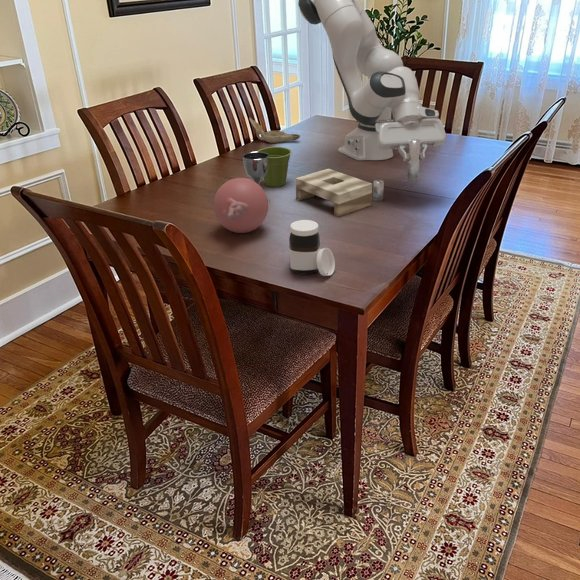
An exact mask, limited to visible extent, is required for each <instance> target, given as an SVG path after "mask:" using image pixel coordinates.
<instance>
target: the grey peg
mask: <svg viewBox="0 0 580 580" xmlns="http://www.w3.org/2000/svg"><path fill="white" fill-rule="evenodd" d="M420 145H421V140H419V139H411V140H410V143H409V148H408V153H409V156H410V160H409V161H407V162H408V163H407V164H408V165H407V179H406V180H407V181H408V182H418V181H419V171H420V170H419V169H420V160H419V159H420V152H421V147H420Z"/></svg>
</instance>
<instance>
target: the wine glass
mask: <svg viewBox="0 0 580 580" xmlns="http://www.w3.org/2000/svg"><path fill="white" fill-rule="evenodd" d="M242 160H243V161H242V163H243V167H244V171H245V173H246V175H247V176H248V177H249V179H250V180H252V181H254V182H256V183H257V184H258V185H260V184H261V182H262V180H264V176H265V175H266V174H267V171H268V166H269V155H268V153H265V152H257V151H250V152H246V153H245V154H243V156H242ZM260 186H261V185H260Z"/></svg>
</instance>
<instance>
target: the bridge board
mask: <svg viewBox="0 0 580 580" xmlns="http://www.w3.org/2000/svg"><path fill="white" fill-rule="evenodd" d="M315 195H316V196H317V197H319V198H322V199H324V200H327V201H330V202H332V203H334V205H333V208H334V209H333V210H334V211H333V215H334V216H335V217H338V218H339V217H343V216H344V215H345V216H346V215H347V214H351V213H352V212H356V211H359V210H361V209H364V208H367V207H369V206H372V203H373V202H372V200H373V183H371V182H369V181H366V180H363V179H360V178H358V177H355V176H351V175H348V174H345V173H342V172H340V171H336V170H334V169H331V168H326V169H323V170H319V171H315V172H312V173H309V174H305V175H303V176H302V175H301V176H298V177H295V199H296V200H297V199H299V200H298V201H300V200H301V201H303V200H302V199H304V200H306V199H305V198H307V199H310V198H312V196H313V197H316V196H315ZM309 197H310V198H309ZM350 212H351V213H350Z"/></svg>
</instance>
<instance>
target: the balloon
mask: <svg viewBox="0 0 580 580" xmlns="http://www.w3.org/2000/svg"><path fill="white" fill-rule="evenodd" d="M267 198H268V197H267V194H266V192H265V191H264V189H263V187H262V186H261V185H258V184H257V183H256V182H254V181H253V180H252V179H251V178H246V177H236V178H231V179H229V180H227V181H226V182H224V183H223V184H222V185H221V186H220V187H219V188H218V189H217V191H216V193H215V195H214V198H213V212H214V215H215V218H216V219H217V221H218V223H219V224H220V225H221V226H222V227H224V228H225V229H227V230H228V231H231V232H232V233H236V234H245V233H246V234H247V233H250V232H252V231H254V230H256V229H257V228H259V227H260V226H261V225H262V224H263V223H264V221H265V219H266V218H267V216H268V211H269V202H268V199H269V198H268V199H267Z"/></svg>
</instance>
